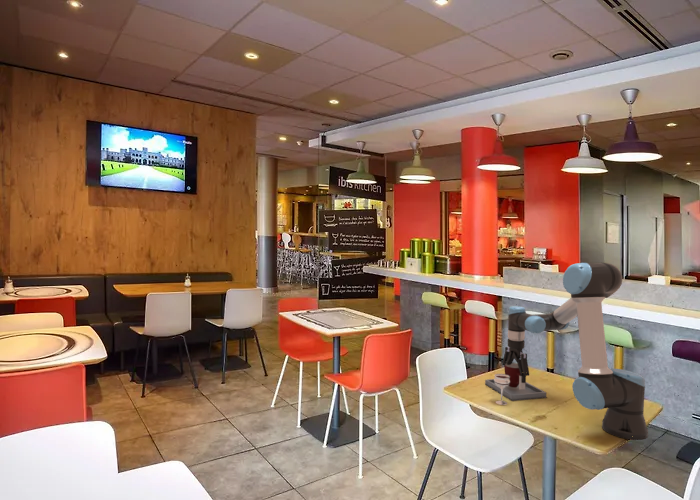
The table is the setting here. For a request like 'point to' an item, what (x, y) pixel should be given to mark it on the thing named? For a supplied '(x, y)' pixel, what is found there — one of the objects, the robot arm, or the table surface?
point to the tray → (517, 391)
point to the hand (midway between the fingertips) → (514, 385)
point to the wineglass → (502, 384)
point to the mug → (513, 374)
